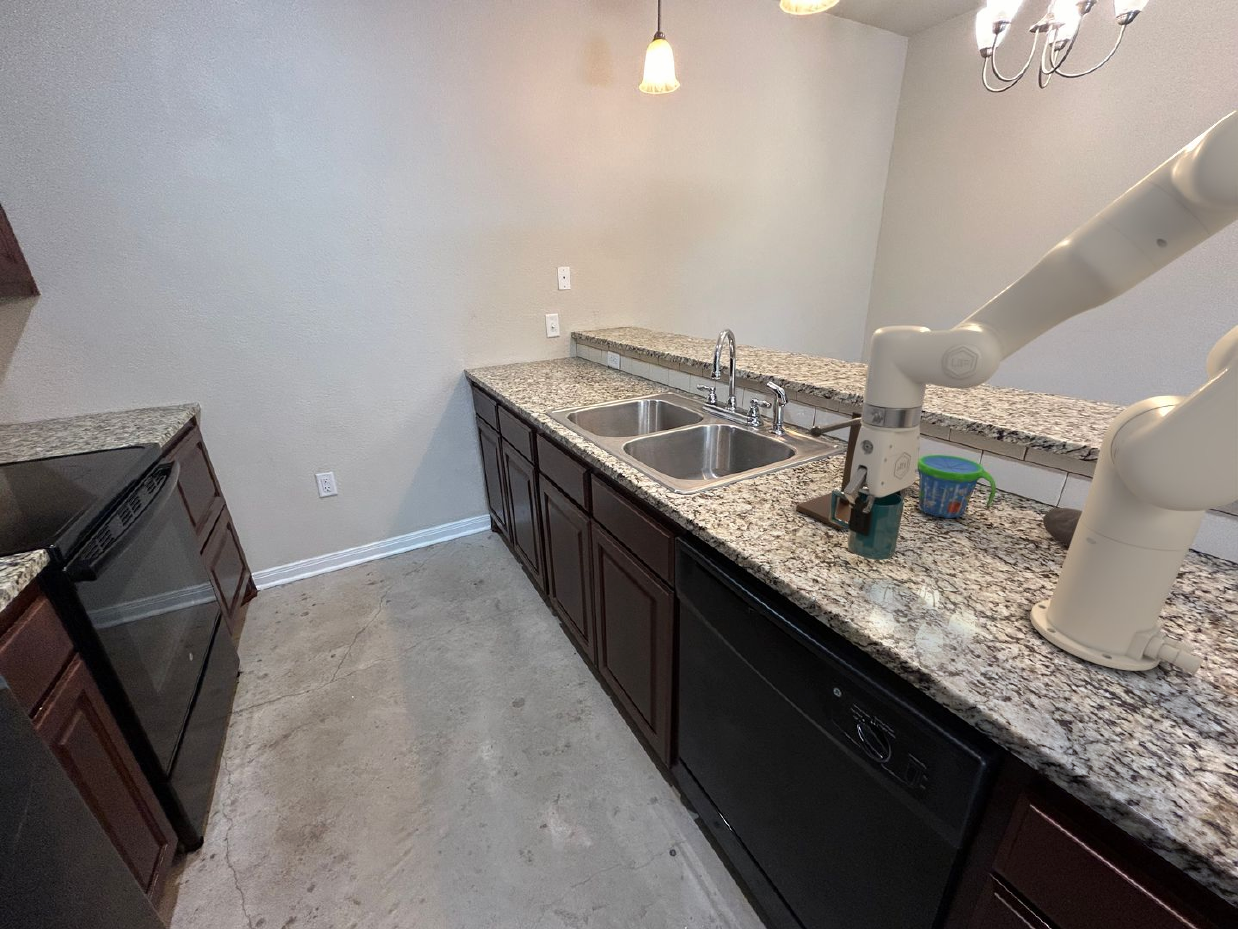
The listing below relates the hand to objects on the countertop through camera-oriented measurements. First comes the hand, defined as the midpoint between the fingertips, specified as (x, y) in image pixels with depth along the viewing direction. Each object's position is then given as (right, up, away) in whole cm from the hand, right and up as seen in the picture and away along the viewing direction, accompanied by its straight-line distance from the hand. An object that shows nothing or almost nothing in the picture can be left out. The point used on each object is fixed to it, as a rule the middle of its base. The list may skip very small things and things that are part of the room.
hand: (874, 525), depth 78 cm
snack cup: (+24, 0, +21) cm, 32 cm away
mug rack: (+1, -1, +21) cm, 21 cm away
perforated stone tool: (+38, -5, +6) cm, 39 cm away
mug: (-1, -3, +3) cm, 5 cm away
